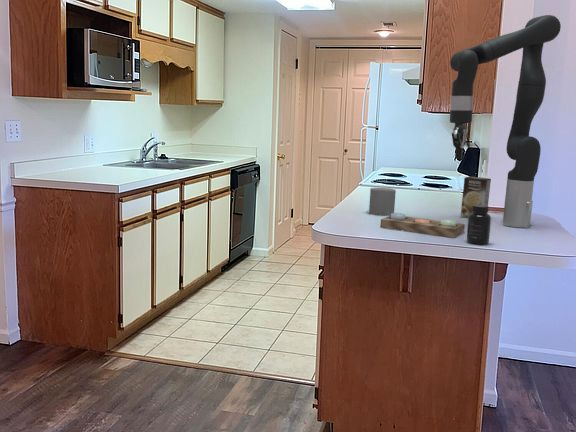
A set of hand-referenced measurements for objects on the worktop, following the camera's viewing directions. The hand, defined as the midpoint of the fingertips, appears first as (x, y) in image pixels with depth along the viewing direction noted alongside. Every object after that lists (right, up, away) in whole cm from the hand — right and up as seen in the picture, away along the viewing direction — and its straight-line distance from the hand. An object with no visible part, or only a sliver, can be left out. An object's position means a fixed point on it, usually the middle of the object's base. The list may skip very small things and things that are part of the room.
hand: (458, 158), depth 207 cm
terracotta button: (-14, -25, -6) cm, 29 cm away
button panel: (-14, -25, -6) cm, 30 cm away
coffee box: (+13, -22, +23) cm, 34 cm away
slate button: (-22, -23, -1) cm, 32 cm away
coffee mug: (-24, -20, +27) cm, 41 cm away
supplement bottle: (-1, -29, -23) cm, 37 cm away
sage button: (-7, -25, -10) cm, 28 cm away
